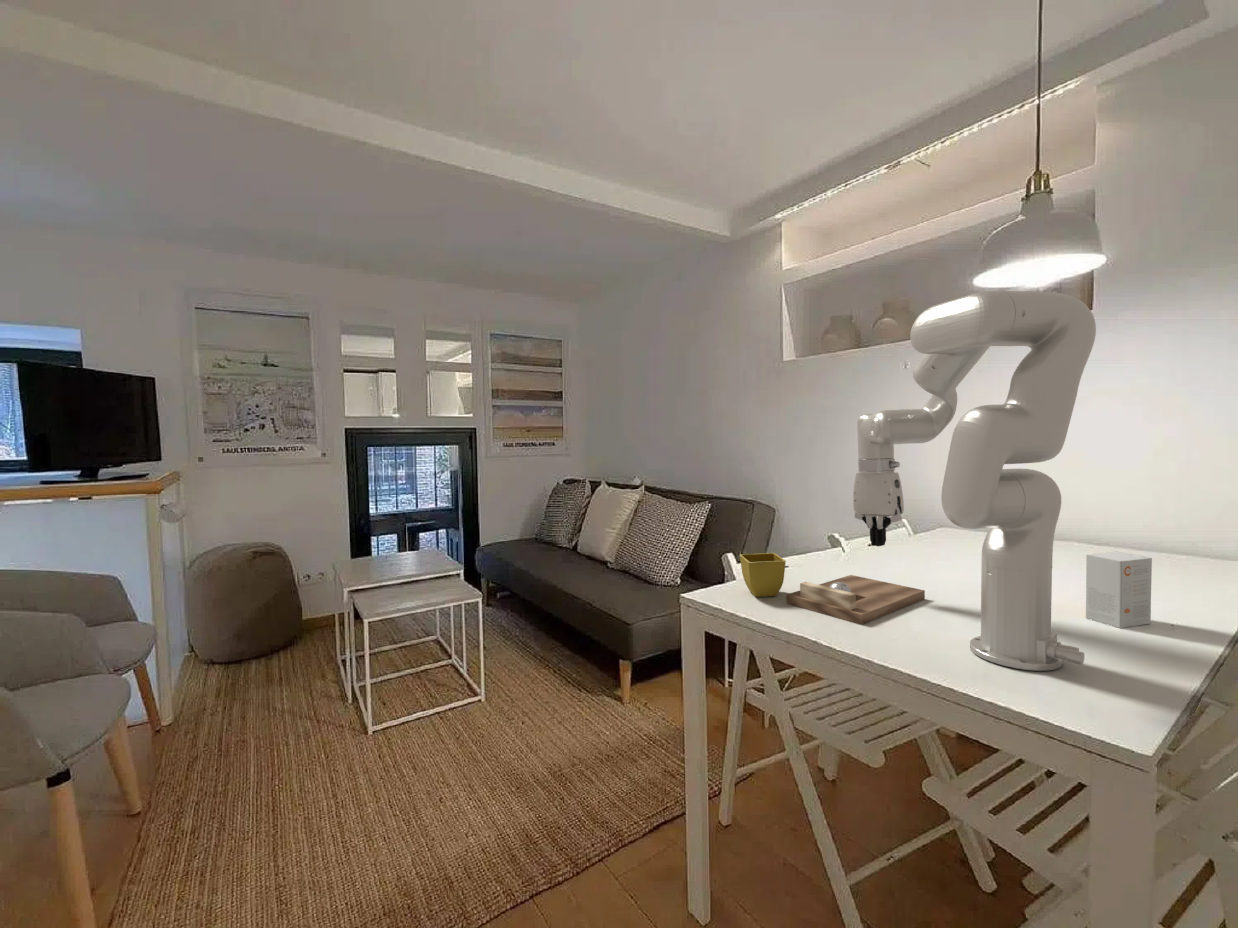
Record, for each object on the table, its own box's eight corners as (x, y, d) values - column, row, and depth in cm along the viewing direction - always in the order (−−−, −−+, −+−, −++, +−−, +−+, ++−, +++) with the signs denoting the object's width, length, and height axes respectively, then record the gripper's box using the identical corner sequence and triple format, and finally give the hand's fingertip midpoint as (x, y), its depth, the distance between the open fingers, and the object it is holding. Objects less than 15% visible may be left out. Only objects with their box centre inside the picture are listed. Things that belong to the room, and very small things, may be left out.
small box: (1114, 613, 110) (1115, 550, 109) (1151, 624, 103) (1153, 557, 103) (1084, 618, 108) (1085, 553, 107) (1120, 628, 102) (1122, 560, 101)
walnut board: (924, 598, 122) (924, 577, 122) (861, 624, 107) (861, 599, 107) (850, 582, 137) (850, 563, 137) (786, 603, 122) (786, 581, 121)
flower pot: (749, 600, 125) (748, 561, 124) (739, 589, 133) (739, 553, 133) (786, 598, 125) (786, 560, 124) (774, 588, 134) (774, 552, 133)
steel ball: (839, 601, 116) (849, 611, 118) (850, 581, 117) (859, 592, 120) (819, 593, 120) (829, 604, 123) (830, 574, 121) (839, 585, 124)
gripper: (917, 466, 121) (919, 547, 121) (854, 466, 133) (856, 540, 134) (900, 467, 117) (902, 551, 117) (837, 467, 129) (839, 543, 129)
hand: (878, 545), depth 125 cm, fingers closed
